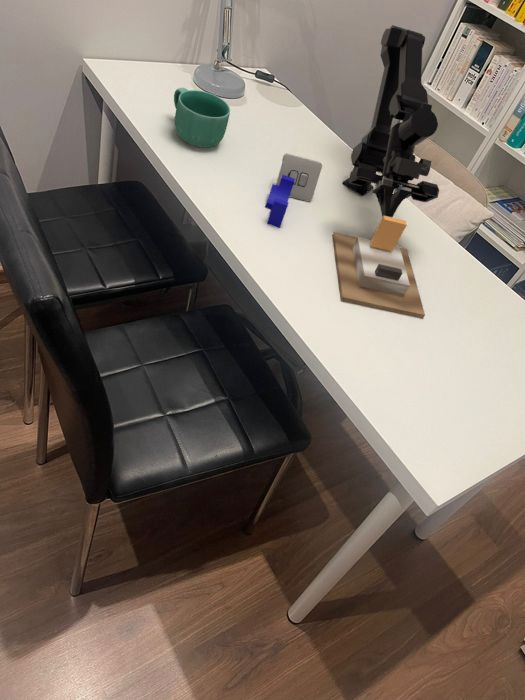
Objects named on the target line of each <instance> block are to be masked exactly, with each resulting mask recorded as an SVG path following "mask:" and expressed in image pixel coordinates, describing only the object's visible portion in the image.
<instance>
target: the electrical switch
mask: <svg viewBox="0 0 525 700" xmlns="http://www.w3.org/2000/svg"><path fill="white" fill-rule="evenodd" d="M322 168H323V164H322V162H320V161H317V160H314V159H310V158H306V157H302V156H299V155H294V154H291V153H287V152H286V153H284V154H283V155H282V160H281V167H280V168H279V169H280V170H279V173H278V176H277V179H276V184H275V185H278V186H279V184H280V181H281V178H282V175H285V176H288V177H291V178H294V179H295V181H294V184H293V187H292V190H291V193H290V196H289V198H294V199H298V200H302V201H305V202H311V201H313V197H314V195H315V191H316V188H317V185H318V182H319V177H320V176H321V172H322Z"/></svg>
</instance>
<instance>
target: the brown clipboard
mask: <svg viewBox="0 0 525 700" xmlns="http://www.w3.org/2000/svg"><path fill="white" fill-rule="evenodd" d="M331 237H332V244H333V249H334V251H333V252H334V258H335V259H334V260H335V267H336V271H337V272H336V274H337V281H338V289H339V295H340V296H339V297H340V301H341V302H345V303H350V304H353V305H358V306H363V307H368V308H372V309H378V310H382V311H386V312H392V313H397V314H401V315H405V316H411V317H414V318H415V317H416V318H420V319H424V318H425V316H426V313H425V310H424V307H423V303H422V298H421V295H420V292H419V289H418V285H417V280H416V276H415V273H414V269H413V267H412V263H411V258H410V255H409V252H408V251H409V250H408V249H407V248H404V247H400V246H397V245H396V246H395V248H394V249H393V251H389V250H385V249H381V248H376V247H372V246H371V244H370V241H371V239H367V238H362V237H359V236H353V235H349V234H345V233H341V232H340V233H339V232H335V231H333V233H332V236H331Z"/></svg>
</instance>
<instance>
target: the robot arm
mask: <svg viewBox="0 0 525 700" xmlns="http://www.w3.org/2000/svg"><path fill="white" fill-rule="evenodd" d="M425 42H426V36H425V35H424V34H423V33H421V32H418V31H414V30H411V29H406V28H404V27H400V26H396V25H394V24H392V25H391V26H390V27H389V28H385V29H384V32H383V34H382V36H381V39H380V44H381V51H380V58H381V61H382V65H383V67H384V68H383V72H382V77H381V82H380V86H379V90H378V96H377V100H376V104H375V109H374V113H373V119H372V121H371V126H370V129H369V130H368V131H367V132H366V133H365V135H364V136H363V137H362V138H361V141H360V142H359V143H358V144H357V145H355V146H354V147H353V149H352V150H351V154H350V161H351V165H352V170H351V171H350V172H349V177H348V178H346V179H345V180H343V181H342V183H341V184H342V185H344V187H347V188H348V189H349V190H351V191H354V192H355V193H357V194H358V195H360V196H361V197H362V196H366V195H367V194H368V193H370V192H371V191H372V192H371V193H372V194H375V196H376V199H377V201H378V205H379V208H380V213H381V218H382V217H383V215H384V216H388V217H392V218H394V215H395V213H396V211H397V210H398V208H399V206H400V205H401V203H402V202H403V201H405V200H406V199H408V198H410V197H411V199H412V200H414V201H417V202H420V203H428V202H430V201H433V200H436V199H437V198H439V193H440V189H439V186H438V184H436V183H432V182H429V181H425V180H422V181H420V182H418V183H416V184H415V183H412V182H411V181H414V179H415V180H419V178H420V176H423V177H428V175H429V174H430V170H431V166H432V161H431V160H428V159H425V158H420V160H419V161H418V162H417V161H416V154H414V153H415V148H416V146H418V145H419V144H421V143H422V142H424V141H425V140H427V139H428V138H430V137H431V136H433V135H434V134H435V133H436V132H437V129H438V126H439V122H438V119H437V116H436V114H435V113H434V111H432V107H433V105H432V104H429V96H428V91H427V89H426V88H425V86H423V84H422V73H423V68H422V67H423V48H424V45H425ZM393 119H396V120H399V121H401V122H398V123H396V124H394V125H392V123H393ZM377 173H380V174H377ZM409 181H410V182H409ZM371 184H374V186H375V187H374V186H373V185H371Z"/></svg>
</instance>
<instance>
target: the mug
mask: <svg viewBox="0 0 525 700" xmlns="http://www.w3.org/2000/svg"><path fill="white" fill-rule="evenodd" d="M173 103H174V104H173V105H174V107H175V113H174V114H175V115H174V129H175V131H176V133H177V135H178V136H179V137H180V139H182V140H183V141H185V143H187V144H189V145H191V146H193V147H197V148H209V147H214V146H216V145H218V144H220V142H221V141H222V140H223V139H224V136H225V135H226V132H227V127H228V124H229V119H230V115H231V109H230V106H229V104H228V102H226V101H225V100H224V99H223V98H221V97H219V96H218V95H216V94H213V93H210V92H208V91H207V92H206V91H203V90H197V89H196V90H195V89H190V90H188V89H187V88H185V87H179V88H177V89H176V90H175V91H174V93H173Z"/></svg>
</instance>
